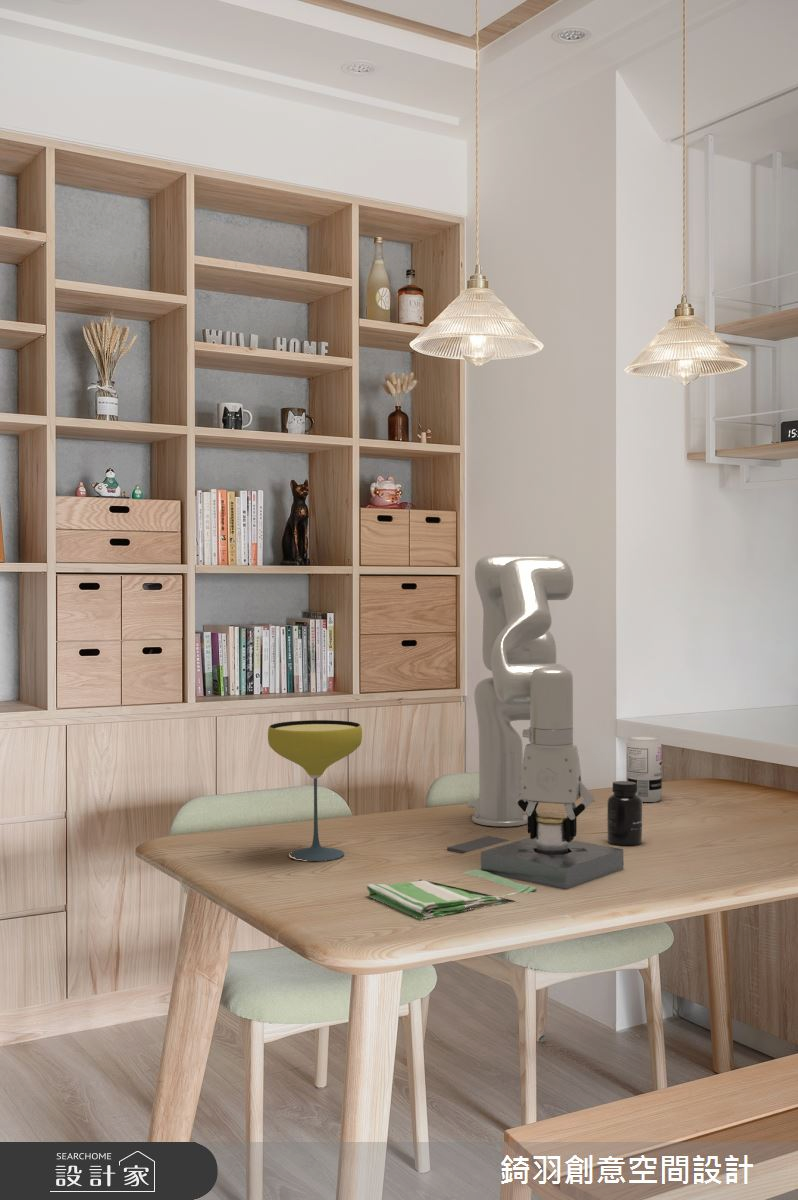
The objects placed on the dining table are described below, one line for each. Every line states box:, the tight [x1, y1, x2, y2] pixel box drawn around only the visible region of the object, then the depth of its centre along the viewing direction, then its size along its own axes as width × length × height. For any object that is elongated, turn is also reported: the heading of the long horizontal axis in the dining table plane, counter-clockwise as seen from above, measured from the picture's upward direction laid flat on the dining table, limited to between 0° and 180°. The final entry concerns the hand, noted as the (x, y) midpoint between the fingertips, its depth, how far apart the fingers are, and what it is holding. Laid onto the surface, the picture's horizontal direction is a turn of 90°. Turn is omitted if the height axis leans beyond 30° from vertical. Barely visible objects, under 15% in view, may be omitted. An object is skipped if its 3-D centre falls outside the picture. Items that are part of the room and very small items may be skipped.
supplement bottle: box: [606, 780, 643, 847], centre depth 223 cm, size 7×7×12 cm
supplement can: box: [625, 735, 663, 803], centre depth 268 cm, size 8×8×15 cm
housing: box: [480, 837, 624, 890], centre depth 198 cm, size 18×18×4 cm
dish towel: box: [366, 869, 537, 921], centre depth 185 cm, size 18×23×3 cm
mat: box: [446, 835, 510, 854], centre depth 218 cm, size 13×13×1 cm
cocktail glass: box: [267, 719, 363, 862], centre depth 214 cm, size 18×18×25 cm
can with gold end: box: [535, 812, 568, 855], centre depth 198 cm, size 6×6×8 cm
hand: (552, 837), depth 198 cm, fingers closed on can with gold end, 5 cm apart
